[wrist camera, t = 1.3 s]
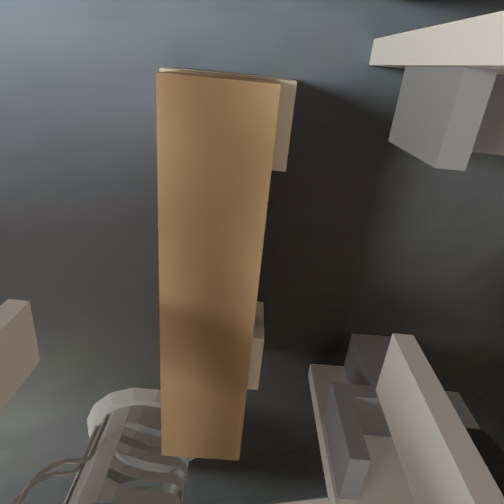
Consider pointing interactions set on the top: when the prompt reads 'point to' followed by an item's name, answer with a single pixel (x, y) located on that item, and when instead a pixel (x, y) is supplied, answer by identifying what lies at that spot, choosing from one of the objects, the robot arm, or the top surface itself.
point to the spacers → (277, 165)
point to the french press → (123, 455)
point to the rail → (210, 250)
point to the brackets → (438, 156)
